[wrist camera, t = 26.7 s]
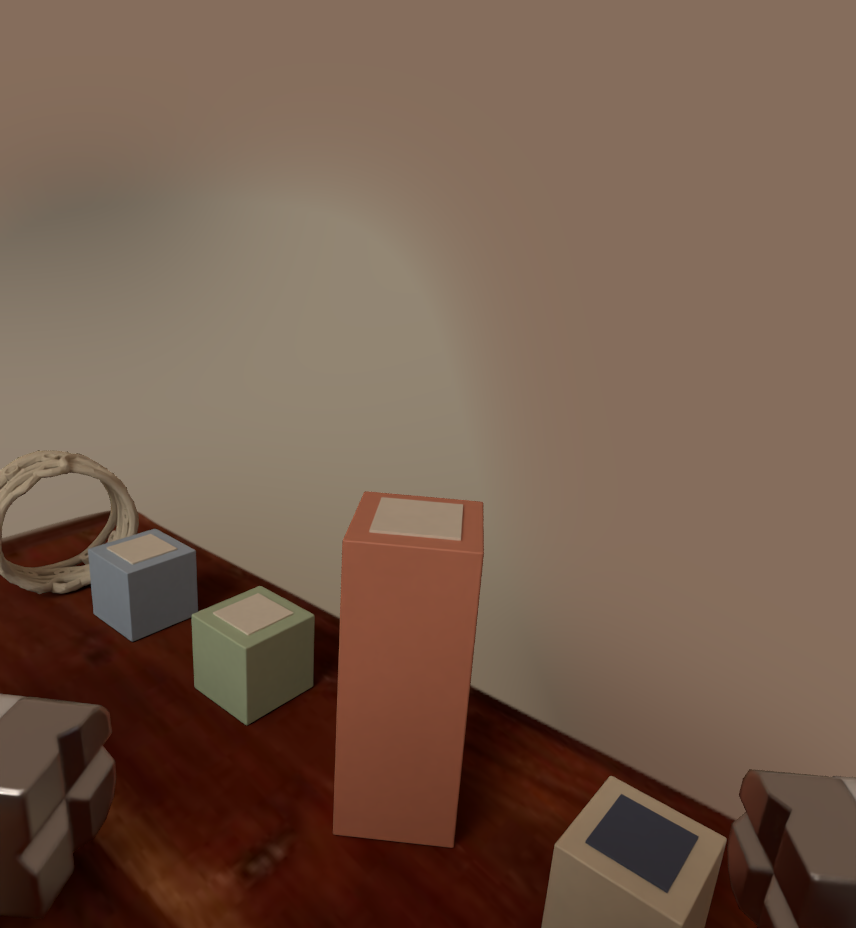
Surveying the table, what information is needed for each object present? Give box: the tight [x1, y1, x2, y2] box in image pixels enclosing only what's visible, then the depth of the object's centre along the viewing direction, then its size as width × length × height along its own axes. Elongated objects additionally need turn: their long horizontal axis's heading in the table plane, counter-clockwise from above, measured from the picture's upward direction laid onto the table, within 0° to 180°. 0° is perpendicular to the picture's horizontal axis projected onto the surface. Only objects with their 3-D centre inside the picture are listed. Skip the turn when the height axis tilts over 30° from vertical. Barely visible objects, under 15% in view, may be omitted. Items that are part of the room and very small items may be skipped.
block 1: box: [88, 529, 198, 642], centre depth 39 cm, size 4×4×4 cm
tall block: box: [333, 492, 484, 848], centre depth 26 cm, size 4×4×12 cm
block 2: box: [192, 586, 314, 725], centre depth 34 cm, size 4×4×4 cm
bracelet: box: [0, 450, 139, 594], centre depth 41 cm, size 4×8×8 cm, turn 134°
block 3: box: [541, 776, 727, 928], centre depth 23 cm, size 4×4×4 cm
